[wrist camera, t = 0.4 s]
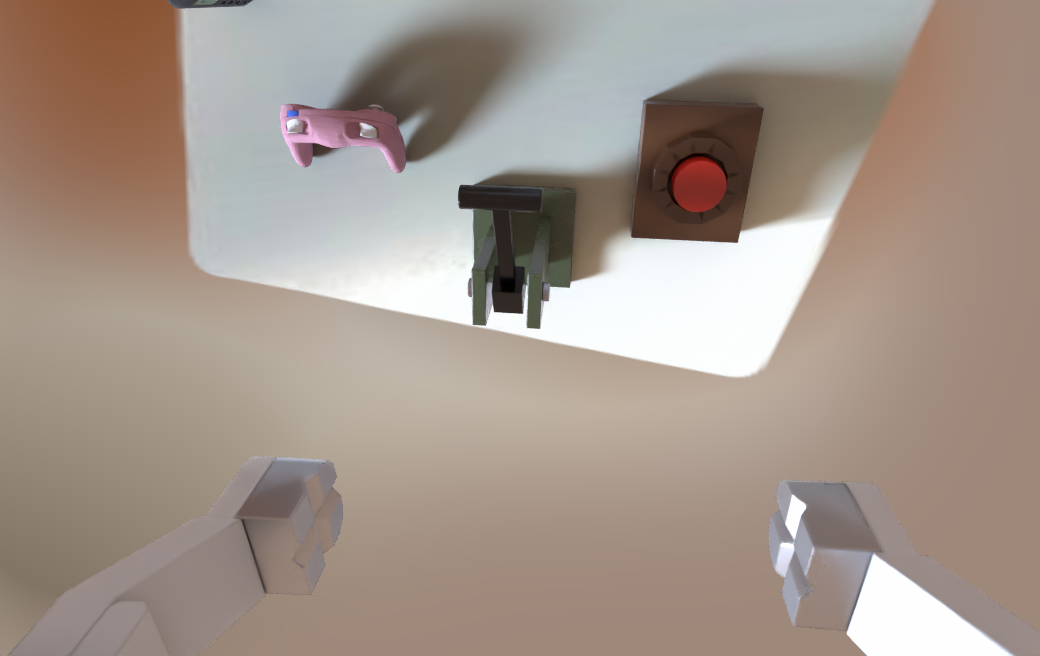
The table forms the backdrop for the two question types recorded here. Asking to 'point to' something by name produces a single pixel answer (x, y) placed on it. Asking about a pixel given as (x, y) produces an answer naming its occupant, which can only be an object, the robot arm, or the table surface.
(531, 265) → the bracket
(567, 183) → the table surface
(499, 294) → the lever
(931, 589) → the robot arm
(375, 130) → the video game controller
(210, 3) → the walkie-talkie
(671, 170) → the button block
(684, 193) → the button
